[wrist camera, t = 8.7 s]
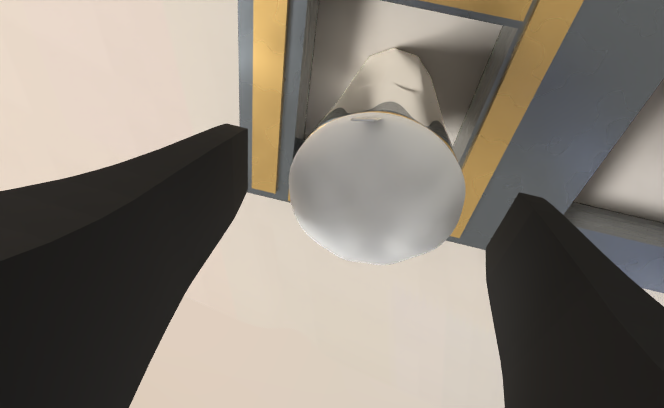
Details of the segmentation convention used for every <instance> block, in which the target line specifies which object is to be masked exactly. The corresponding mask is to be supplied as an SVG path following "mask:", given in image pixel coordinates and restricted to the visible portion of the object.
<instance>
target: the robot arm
mask: <svg viewBox="0 0 664 408" xmlns="http://www.w3.org/2000/svg"><path fill="white" fill-rule="evenodd" d="M247 190H248V129H247V128H243V127H239V126H234V125H230V124H223V125H220V126H217V127H214V128H211V129H209V130H206V131H204V132H201V133H199V134H196V135H194V136H191V137H189V138H186V139H184V140H181V141H179V142H176V143H174V144H171V145H169V146H166V147H164V148H161V149H159V150H156V151H153V152H150V153H147V154H144V155H142V156H139V157H136V158H133V159H130V160H127V161H125V162H122V163H119V164H115V165H112V166H109V167H106V168H102V169H99V170H95V171H91V172H88V173H84V174H80V175H76V176H73V177H68V178H64V179H60V180H55V181H50V182H45V183H40V184H35V185H30V186H25V187H21V188H16V189H11V190H5V191H0V408H129V406H130V404H131V402H132V400H133V397H134V395H135V393H136V391H137V389H138V386H139V385H140V382H141V380H142V378H143V376H144V374H145V371H146V369H147V367H148V365H149V363H150V361H151V359H152V357H153V355H154V353H155V351H156V349H157V347H158V345H159V343H160V341H161V339H162V337H163V334H164V333H165V331H166V329H167V327H168V325H169V323H170V320H171V319H172V317H173V315H174V313H175V311H176V309H177V307H178V306H179V303H180V302H181V300H182V298H183V296H184V294H185V293H186V291H187V289H188V288H189V286H190V284H191V283H192V281H193V279H194V278H195V276H196V275H197V273H198V272H199V271H200V269H201V268H202V266H203V265H204V263H205V262H206V260H207V259H208V257H209V256H210V254H211V253H212V251H213V250H214V248H215V247H216V245H217V244H218V242H219V241H220V239H221V238H222V236H223V235H224V233H225V232H226V230H227V229H228V227H229V226H230V224H231V223H232V221H233V219H234V218H235V216H236V214H237V212H238V210H239V208H240V206H241V203H242V201H243V199H244V197H245V195H246V193H247ZM486 282H487V288H488V294H489V300H490V306H491V311H492V317H493V322H494V328H495V333H496V339H497V344H498V350H499V355H500V360H501V368H502V375H503V386H504V401H505V408H664V307H663V306H662V305H661V304H660V303H659V302H657V301H656V300H655V299H654V298H652V297H651V296H650V295H649V294H648V293H647V292H646V291H644V290H643V289H642V288H641V287H640V286H639V285H638V284H636V283H635V282H634V281H633V280H632V279H631V278H630V277H628V276H627V275H626V274H625V273H624V272H623V271H622V270H621V269H620V268H618V267H617V266H616V265H615V264H614V263H613V262H612V261H611V260H610V259H609V258H608V257H607V256H606V255H604V254H603V253H602V252H601V251H600V250H599V249H598V248H597V247H596V246H595V245H594V244H593V243H592V242H591V241H590V240H589V239H588V238H587V237H586V236H585V235H584V234H583V233H582V232H581V231H580V230H578V229H577V228H576V227H575V226H574V225H573V224H572V223H571V222H570V221H569V220H568V219H567V218H566V217H565V216H564V215H563V214H562V213H561V212H560V211H559V210H557V209H556V208H555V207H554V206H553V205H552V204H550V203H549V202H548V201H547V200H545V199H544V198H542V197H537V196H533V195H529V194H524V193H520V192H519V193H518V195H517V197H516V198H515V200H514V202H513V203H512V205H511V207H510V208H509V210H508V212H507V213H506V215H505V217H504V218H503V220H502V222H501V223H500V225H499V227H498V228H497V230H496V232H495V233H494V235H493V237H492V238H491V240H490V242H489V243H488V245H487V247H486Z"/></svg>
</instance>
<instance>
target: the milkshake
mask: <svg viewBox="0 0 664 408" xmlns="http://www.w3.org/2000/svg"><path fill="white" fill-rule="evenodd" d="M289 193H290V201H291V205H292V209H293V212H294V214H295V216H296V219H297V221H298V222H299V224H300V226H301V227H302V229H303V230H304V231H305V233H306V234H307V235H308V236H309V237H310V238H311V239H313V240H314V241H315V242H316V243H318V244H319V245H321V246H322V247H324V248H325V249H327V250H328V251H330V252H331V253H333V254H334V255H336V256H338V257H340V258H342V259H344V260H347V261H353V262H362V263H369V264H375V265H390V264H394V263H397V262H401V261H404V260H407V259H410V258H413V257H416V256H419V255H422V254H425V253H427V252H430V251H432V250H434V249H435V248H437V247H438V246H440V245H441V244H442V243H443V242H444V241H445V240H446V239H447V238H448V237H449V236H450V235H451V234H452V232H453V231H454V229H455V227H456V225H457V223H458V221H459V219H460V216H461V212H462V209H463V205H464V200H465V180H464V176H463V173H462V170H461V168H460V166H459V164H458V161H457V158H456V155H455V152H454V150H453V147H452V144H451V141H450V139H449V136H448V133H447V130H446V128H445V124H444V121H443V117H442V114H441V110H440V106H439V103H438V99H437V96H436V92H435V89H434V85H433V82H432V79H431V76H430V75H429V73H428V72H427V70H426V68H425V67H424V65H423V64H422V62H421V60H420V59H419V57H418V56H416V55H413V54H410V53H408V52H405V51H402V50H399V49H396V48H392V49H389V50H386V51H383V52H380V53H377V54H374V55H371V56H369V58H368V59H367V60H366V62H365V63H364V65H363V66H362V67H361V69H360V70H359V72H358V73H357V74H356V76H355V77H354V78H353V80H352V81H351V83H350V84H349V86H348V87H347V89H346V90H345V92H344V93H343V95H342V96H341V98H340V99H339V100H338V101H337V102H336V104H335V105H334V106H333V107H332V108H331V109H330V110H329V112H328V113H327V114H326V115H325V117H324V118H323V119H322V120H321V122H320V123H319V124H318V125H317V127H316V128H315V129H314V130H313V132H312V133H311V134H310V135H309V137H308V138H307V139H306V140H305V142H304V143H303V144H302V146H301V147H300V148H299V150H298V152H297V153H296V155H295V157H294V159H293V162H292V164H291V168H290V173H289Z"/></svg>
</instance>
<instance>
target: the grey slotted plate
mask: <svg viewBox="0 0 664 408" xmlns="http://www.w3.org/2000/svg"><path fill="white" fill-rule="evenodd" d="M382 1H387V2H392V3H397V4H402V5H407V6H411V7H416V8H421V9H426V10H431V11H436V12H440V13H445V14H450V15H455V16H460V17H465V18H469V19H474V20H479V21H484V22H489V23H494V24H498V25H503V27H502V29H501V32H500V34H499V36H498V39H497V41H496V44H495V46H494V49H493V51H492V53H491V56H490V58H489V61H488V63H487V66H486V68H485V70H484V73H483V75H482V78H481V80H480V82H479V85H478V87H477V90H476V92H475V95H474V97H473V99H472V102H471V104H470V107H469V109H468V111H467V114H466V116H465V119H464V121H463V124H462V126H461V128H460V131H459V133H458V136H457V138H456V141H455V143H454V145H453V150H454V152H455V155H456V158H457V161H458V164H459V166H460V168H461V170H462V173H463V176H464V180H465V200H464V205H463V209H462V212H461V216H460V219H459V221H458V223H457V225H456V227H455V229H454V231H453V232H452V234H451V235H450V236H449V237H448V238H447V239H446V240H447V241H451V242H455V243H459V244H463V245H467V246H471V247H475V248H480V249H484V250H486V247H487V245H488V243H489V242H490V240H491V238H492V237H493V235H494V233H495V232H496V230H497V228H498V227H499V225H500V223H501V222H502V220H503V218H504V217H505V215H506V213H507V212H508V210H509V208H510V207H511V205H512V203H513V202H514V200H515V198H516V197H517V195H518V193H519V192H520V193H524V194H529V195H533V196H537V197H542V198H544V199H545V200H547V201H548V202H549V203H550V204H552V205H553V206H554V207H555V208H556V209H557V210H559V211H560V212H561V213H562V214H563V215H564V216H565V217H566V218H567V219H568V220H569V221H570V222H571V223H572V224H573V225H574V226H575V227H576V228H577V229H578V230H580V231H581V232H582V233H583V234H584V235H585V236H586V237H587V238H588V239H589V240H590V241H591V242H592V243H593V244H594V245H595V246H596V247H597V248H598V249H599V250H600V251H601V252H602V253H603V254H604V255H606V256H607V257H608V258H609V259H610V260H611V261H612V262H613V263H614V264H615V265H616V266H617V267H618V268H620V269H621V270H622V271H623V272H624V273H625V274H626V275H627V276H628V277H630V278H631V279H632V280H633V281H634V282H635V283H636V284H638V285H639V286H640V287H641V288H645V289H649V290H653V291H657V292H661V293H664V223H661V222H657V221H652V220H648V219H644V218H639V217H635V216H631V215H626V214H622V213H618V212H613V211H609V210H605V209H601V208H596V207H592V206H588V205H583V204H579V203H575V202H573V201H574V200H575V198H576V197H577V196H578V194H579V193H580V192H581V190H582V189H583V187H584V186H585V185H586V183H587V182H588V181H589V179H590V178H591V177H592V175H593V174H594V172H595V171H596V170H597V168H598V167H599V166H600V164H601V163H602V162H603V160H604V159H605V158H606V156H607V155H608V153H609V152H610V151H611V149H612V148H613V147H614V145H615V144H616V143H617V141H618V140H619V139H620V137H621V136H622V134H623V133H624V132H625V130H626V129H627V128H628V126H629V125H630V124H631V122H632V121H633V120H634V118H635V117H636V115H637V114H638V113H639V111H640V110H641V109H642V107H643V106H644V105H645V103H646V102H647V100H648V99H649V98H650V96H651V95H652V94H653V92H654V91H655V90H656V88H657V87H658V86H659V84H660V83H661V81H662V80H663V79H664V0H382ZM318 6H319V0H238V41H239V109H240V127H243V128H247V129H248V190H247V192H248V193H253V194H257V195H261V196H265V197H269V198H273V199H277V200H281V201H286V202H290V203H291V201H290V193H289V173H290V168H291V164H292V162H293V159H294V157H295V155H296V153H297V152H298V150H299V148H300V147H301V146H302V144H303V143H304V142H305V140H304V132H305V123H306V114H307V105H308V96H309V87H310V78H311V69H312V60H313V51H314V42H315V33H316V24H317V15H318Z"/></svg>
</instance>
